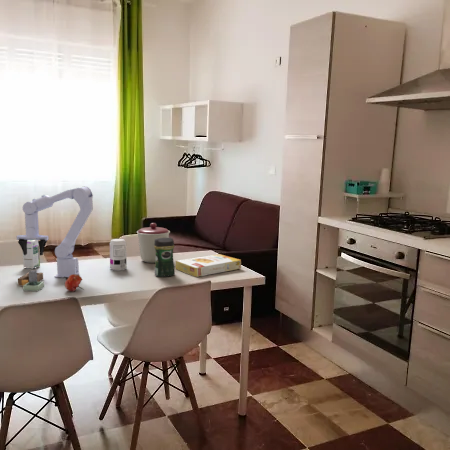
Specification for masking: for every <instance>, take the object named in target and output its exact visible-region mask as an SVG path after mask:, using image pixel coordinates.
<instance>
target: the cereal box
mask: <svg viewBox="0 0 450 450" xmlns="http://www.w3.org/2000/svg"><path fill="white" fill-rule="evenodd" d="M174 265H175V270H178V271H179V272H182V273H185V274H188V275H190V276H192V277H195V278H198V277H204V276H207V275H214V274H220V273H225V272H230V271H235V270H236V271H237V270H241V269H242V259H239V258H235V257H232V256H228V255H224V254H221V253H218V254H217V253H216V254H211V255H205V256H200V257H193V258H192V257H191V258H185V259H179V260H175V261H174Z"/></svg>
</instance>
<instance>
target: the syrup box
mask: <svg viewBox="0 0 450 450" xmlns="http://www.w3.org/2000/svg"><path fill="white" fill-rule="evenodd" d="M38 241H39V240H27V254H26V255H24V254H23V253H22V260H23V262H22V263H23V268H24V267H26V268H35V267H38V266H40V267H41V264H40V263H41V262H40V261H41V259H40V249H39V243H38ZM38 268H39V267H38ZM35 269H36V268H35Z"/></svg>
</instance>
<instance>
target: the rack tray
mask: <svg viewBox="0 0 450 450" xmlns="http://www.w3.org/2000/svg"><path fill="white" fill-rule="evenodd" d="M42 288H45V282H44V281H40V282H37V286H33V285H29V282H28V283H27V284H25V285H24V286H22V289H23V291H29V292H30V291H31V292H32V291H34V292H35V291H36V292H38V291H40V290H42Z"/></svg>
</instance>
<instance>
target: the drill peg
mask: <svg viewBox="0 0 450 450" xmlns="http://www.w3.org/2000/svg"><path fill="white" fill-rule="evenodd" d="M28 273H29V285H33V286H37V273H38V272H37V270H29V271H28Z"/></svg>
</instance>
